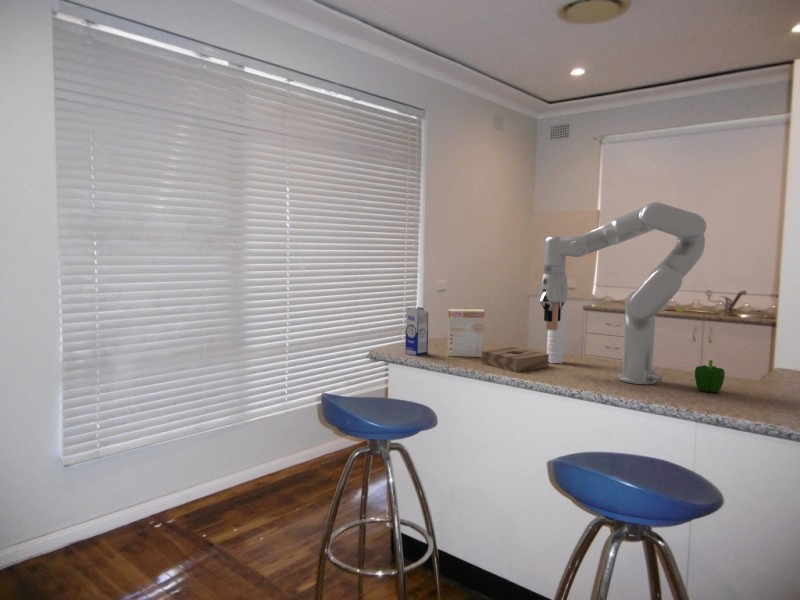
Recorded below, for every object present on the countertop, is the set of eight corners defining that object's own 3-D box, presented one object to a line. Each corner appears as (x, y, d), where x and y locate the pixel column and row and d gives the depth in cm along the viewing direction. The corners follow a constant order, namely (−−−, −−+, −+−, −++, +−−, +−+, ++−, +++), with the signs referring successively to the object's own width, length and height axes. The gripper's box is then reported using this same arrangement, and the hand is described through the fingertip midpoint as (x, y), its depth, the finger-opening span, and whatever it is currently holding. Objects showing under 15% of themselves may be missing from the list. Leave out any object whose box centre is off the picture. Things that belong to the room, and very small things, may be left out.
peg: (559, 329, 197) (561, 296, 196) (552, 330, 195) (554, 297, 194) (550, 328, 200) (552, 296, 199) (543, 329, 198) (545, 296, 197)
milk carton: (404, 353, 231) (405, 306, 229) (416, 351, 235) (417, 305, 233) (416, 356, 225) (417, 308, 224) (427, 354, 230) (429, 307, 228)
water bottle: (558, 364, 214) (561, 301, 211) (543, 362, 218) (546, 300, 216) (568, 361, 220) (571, 300, 218) (553, 359, 224) (556, 299, 222)
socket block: (548, 367, 208) (548, 354, 208) (516, 372, 198) (516, 358, 198) (513, 358, 223) (513, 347, 223) (481, 363, 213) (481, 350, 212)
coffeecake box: (482, 354, 232) (484, 309, 230) (483, 357, 225) (484, 311, 223) (447, 353, 233) (448, 308, 232) (447, 356, 226) (448, 309, 224)
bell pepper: (716, 396, 170) (718, 364, 169) (689, 390, 177) (691, 360, 176) (728, 392, 175) (730, 361, 174) (701, 386, 182) (703, 357, 181)
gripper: (547, 271, 188) (545, 323, 189) (577, 271, 198) (575, 320, 199) (531, 270, 194) (528, 321, 196) (560, 270, 204) (558, 318, 205)
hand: (552, 320), depth 197 cm, fingers closed on peg, 4 cm apart
